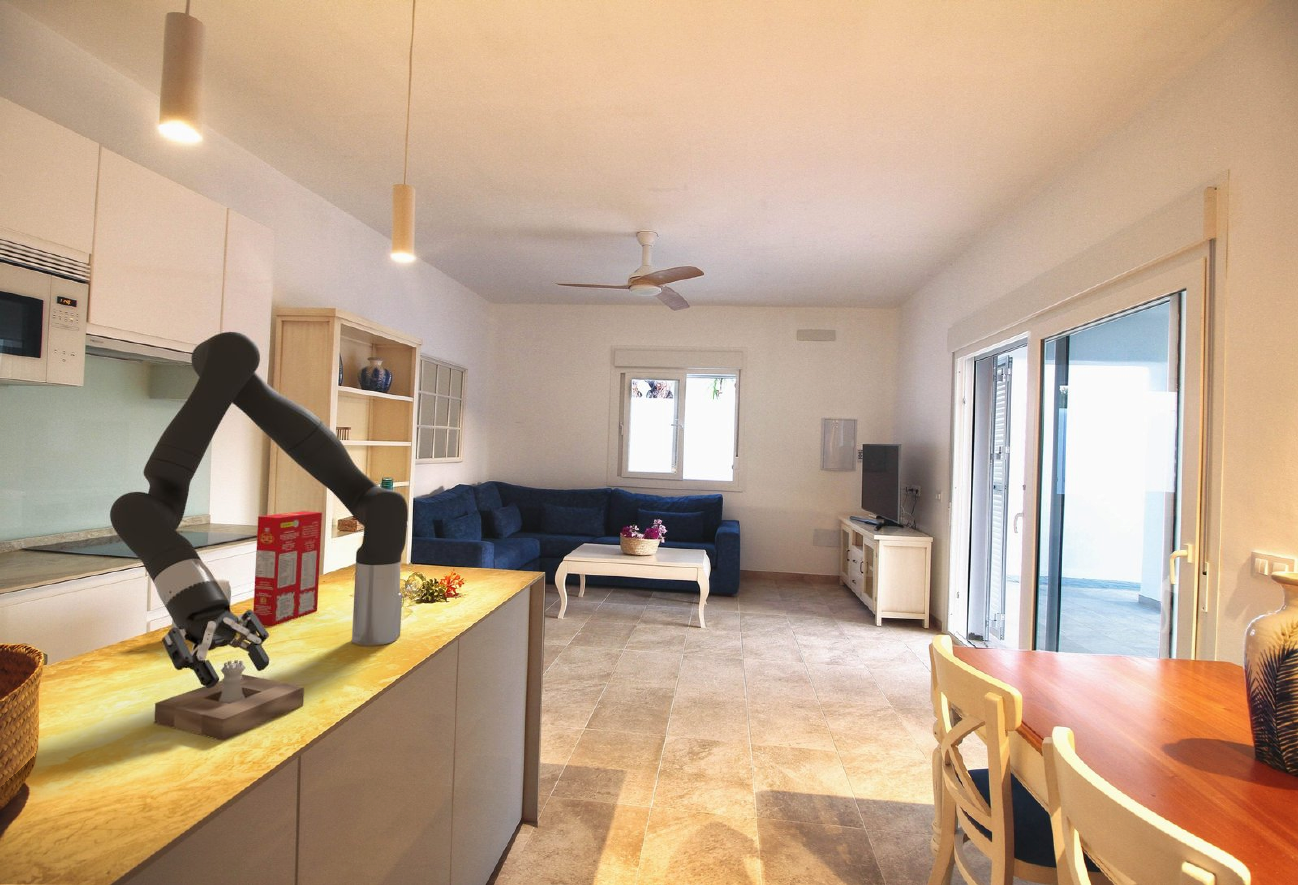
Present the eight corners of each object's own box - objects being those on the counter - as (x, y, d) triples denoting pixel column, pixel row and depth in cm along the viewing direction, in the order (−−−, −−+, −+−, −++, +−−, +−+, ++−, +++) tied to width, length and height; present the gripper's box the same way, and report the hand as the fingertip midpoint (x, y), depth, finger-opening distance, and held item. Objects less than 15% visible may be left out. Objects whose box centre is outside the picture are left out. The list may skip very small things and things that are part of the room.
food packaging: (298, 609, 165) (303, 511, 165) (317, 611, 164) (322, 512, 164) (252, 624, 150) (258, 516, 150) (272, 626, 149) (277, 517, 149)
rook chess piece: (223, 707, 104) (226, 657, 104) (253, 708, 104) (255, 658, 104) (207, 719, 99) (210, 667, 99) (237, 720, 100) (240, 667, 100)
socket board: (239, 691, 111) (240, 673, 111) (303, 705, 106) (304, 686, 106) (154, 723, 97) (155, 702, 97) (222, 740, 93) (223, 719, 93)
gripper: (158, 587, 98) (209, 675, 94) (244, 572, 111) (292, 648, 107) (132, 618, 99) (181, 706, 95) (220, 599, 113) (266, 675, 109)
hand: (240, 675), depth 101 cm, fingers open, 8 cm apart
